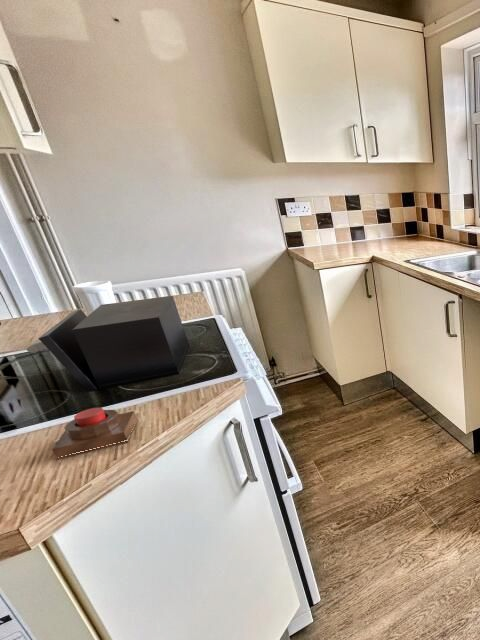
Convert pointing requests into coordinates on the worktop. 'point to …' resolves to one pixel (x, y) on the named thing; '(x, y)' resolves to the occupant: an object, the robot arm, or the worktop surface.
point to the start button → (89, 417)
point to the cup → (94, 294)
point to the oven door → (67, 349)
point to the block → (95, 434)
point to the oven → (133, 341)
